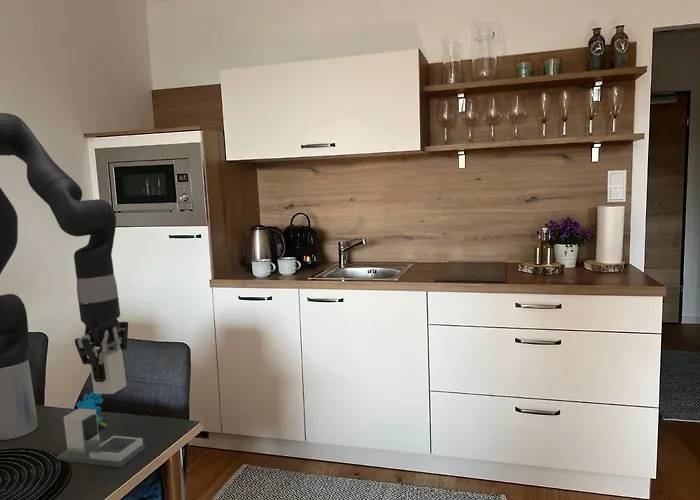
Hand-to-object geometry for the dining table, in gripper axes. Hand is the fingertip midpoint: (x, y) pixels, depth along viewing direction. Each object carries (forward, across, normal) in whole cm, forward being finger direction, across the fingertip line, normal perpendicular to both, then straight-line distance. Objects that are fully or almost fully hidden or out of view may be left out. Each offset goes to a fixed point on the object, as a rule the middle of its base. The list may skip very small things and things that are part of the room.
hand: (108, 376), depth 117 cm
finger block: (+3, 0, 0) cm, 3 cm away
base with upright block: (+18, 0, -4) cm, 18 cm away
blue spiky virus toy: (+18, -12, -17) cm, 27 cm away
